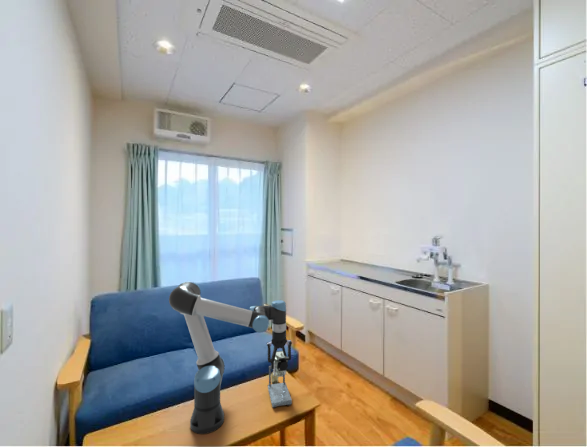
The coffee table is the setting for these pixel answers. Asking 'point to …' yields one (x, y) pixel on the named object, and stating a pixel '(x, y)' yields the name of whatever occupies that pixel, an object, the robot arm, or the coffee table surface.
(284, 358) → the pneumatic valve
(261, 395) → the coffee table surface
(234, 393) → the coffee table surface
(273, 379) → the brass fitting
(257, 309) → the robot arm
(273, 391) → the dolly
